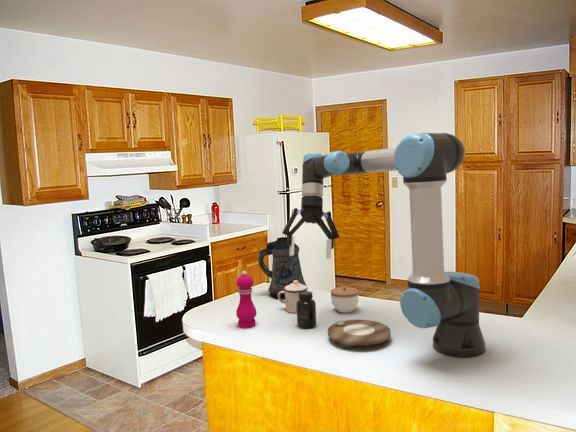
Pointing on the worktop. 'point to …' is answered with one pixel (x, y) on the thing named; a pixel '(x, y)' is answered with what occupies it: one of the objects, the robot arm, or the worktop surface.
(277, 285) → the beer stein
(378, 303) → the worktop surface
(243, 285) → the pepper mill
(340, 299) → the lidded jar
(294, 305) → the teacup with lid
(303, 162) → the robot arm
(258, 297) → the worktop surface
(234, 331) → the worktop surface
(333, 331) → the stand
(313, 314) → the supplement bottle
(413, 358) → the worktop surface
